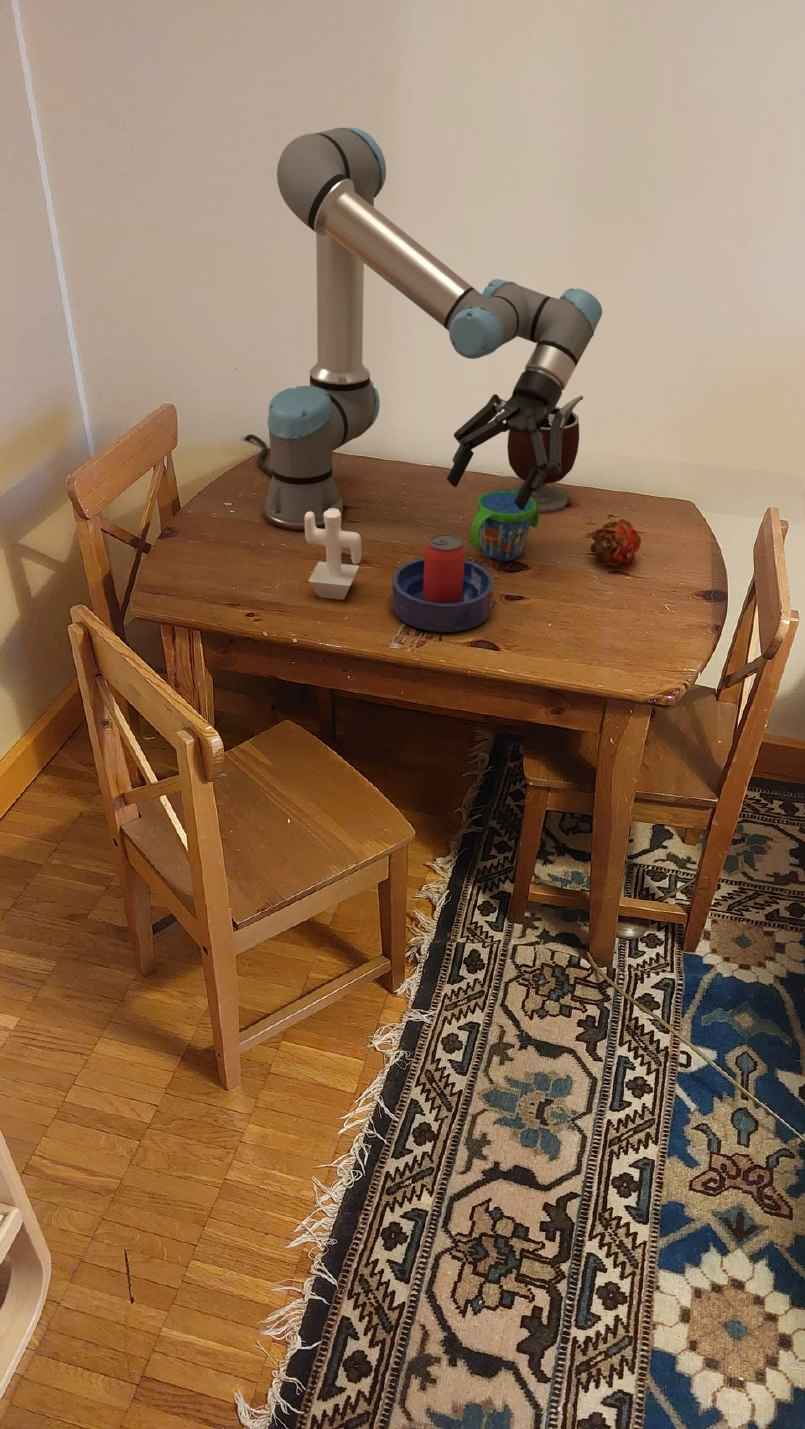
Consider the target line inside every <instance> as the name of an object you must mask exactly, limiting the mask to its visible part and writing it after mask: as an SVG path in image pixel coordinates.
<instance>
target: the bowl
mask: <svg viewBox="0 0 805 1429" xmlns="http://www.w3.org/2000/svg"><path fill="white" fill-rule="evenodd" d="M391 584H392V585H391V586H392V587H391V589H392V590H391V591H392V592H391V604H392V611H393V612H394V614H395V615H396V616H397V618H398V619H399V620H401V621H403V622H404V623H405V624H407V625H409V626H411V627H414V628H417V629H419V630H424V631H431V632H436V633H454V632H460V631H465V630H466V631H467V630H470V629H472V628H475V627H478V626H479V625H481V624H483V623H484V622H485V621H486V620H487V619H488V618H490V615H491V612H492V610H493V602H494V600H493V599H494V591H495V590H494V589H495V582H494V579H493V575H492V574H491V572H489V571H488V570H487V569H486V568H485V567H483V566H481V565H480V564H477V563H476V562H473V561H470V560H466V559H465V561H464V577H463V593H462V602H458V603H434V602H428V601H423V585H424V557H421V558H416V559H414V560H410V561H408V562H405V563H403V565H401V566H400V567H398V568H397V569H396V570H395V572H394V573H393V575H392V583H391Z"/></svg>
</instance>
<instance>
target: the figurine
mask: <svg viewBox="0 0 805 1429" xmlns="http://www.w3.org/2000/svg"><path fill="white" fill-rule="evenodd" d="M304 520H305V531H304V535H305V536H304V537H305V540H306V542H307V543H308V544H309V545H313V546H323V547H325V561H317V564H316V565H315V567H314V569H313V570H312V573H311V575H310V577H309V578H308V580H307V582H308V583H309V585H310V586H311V588H312V589H313V591H314V592H315V594H316V595H317V596H318V597H319V598H323V599H333V600H342V601H344V600H345V598H346V596H347V594H348V592H349V590H350V587H351V585H352V583H353V582H354V579H355V576H356V574H357V572H358V570H359V568H360V565H359V564H361V562H362V538H361V535H360V534H359V532H356V531H347V530H342V529H341V527H342V526H341V525H342V517H341V513H340V511H339V510H338V509H335V508H330V509H328V511H325V512H324V523H325V528H321V529H318V528H317V527H316V525H315V515H314V513H313V512H307V513H306V514H305V518H304ZM342 548H343V549H349V550H350V555H351V556H350V559H351V563H352V564H348V563H347V564H346V563H342Z"/></svg>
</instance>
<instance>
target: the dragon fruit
mask: <svg viewBox="0 0 805 1429" xmlns="http://www.w3.org/2000/svg"><path fill="white" fill-rule="evenodd" d="M591 539H592V540H593V541H594V542H593V543H592V544H591V545H590V547H589V548H590V551H591V553H594V554H596V557H597V559H598V560H600V561H603V562H604V563H605V564H606V565H609V566H610V567H616V566H618V565H619V564H620V563H622V564H629V565H630V564H631V563H633V562H634V561H635V556H636V554H635V553H637V552H638V551H639V549H640V548H641V543H642V539H641V537H640V535H639V533H638V531H637V530H636V528H635V526H634V525H633V524H632V523H631V522H629V521H628V520H627V519H624V518H620V519H619V520H617V521H608V522H607V523H604V524H603V525H602V528H599V529H597V530H595V532H594V534H593V535H592V536H591Z"/></svg>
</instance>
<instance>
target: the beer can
mask: <svg viewBox="0 0 805 1429" xmlns="http://www.w3.org/2000/svg"><path fill="white" fill-rule="evenodd" d="M423 558H424V585H423V601H428V602H434V603H458V602H462V593H463V577H464V561H465V560H466V551H465V547H464V545H463V540H462V538H461V537H459V536H458V535H455V534H451V533H438V534H434V535H432V536H430V537H429V538H428V541H427V544H426V547H425V551H424V556H423Z"/></svg>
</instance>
